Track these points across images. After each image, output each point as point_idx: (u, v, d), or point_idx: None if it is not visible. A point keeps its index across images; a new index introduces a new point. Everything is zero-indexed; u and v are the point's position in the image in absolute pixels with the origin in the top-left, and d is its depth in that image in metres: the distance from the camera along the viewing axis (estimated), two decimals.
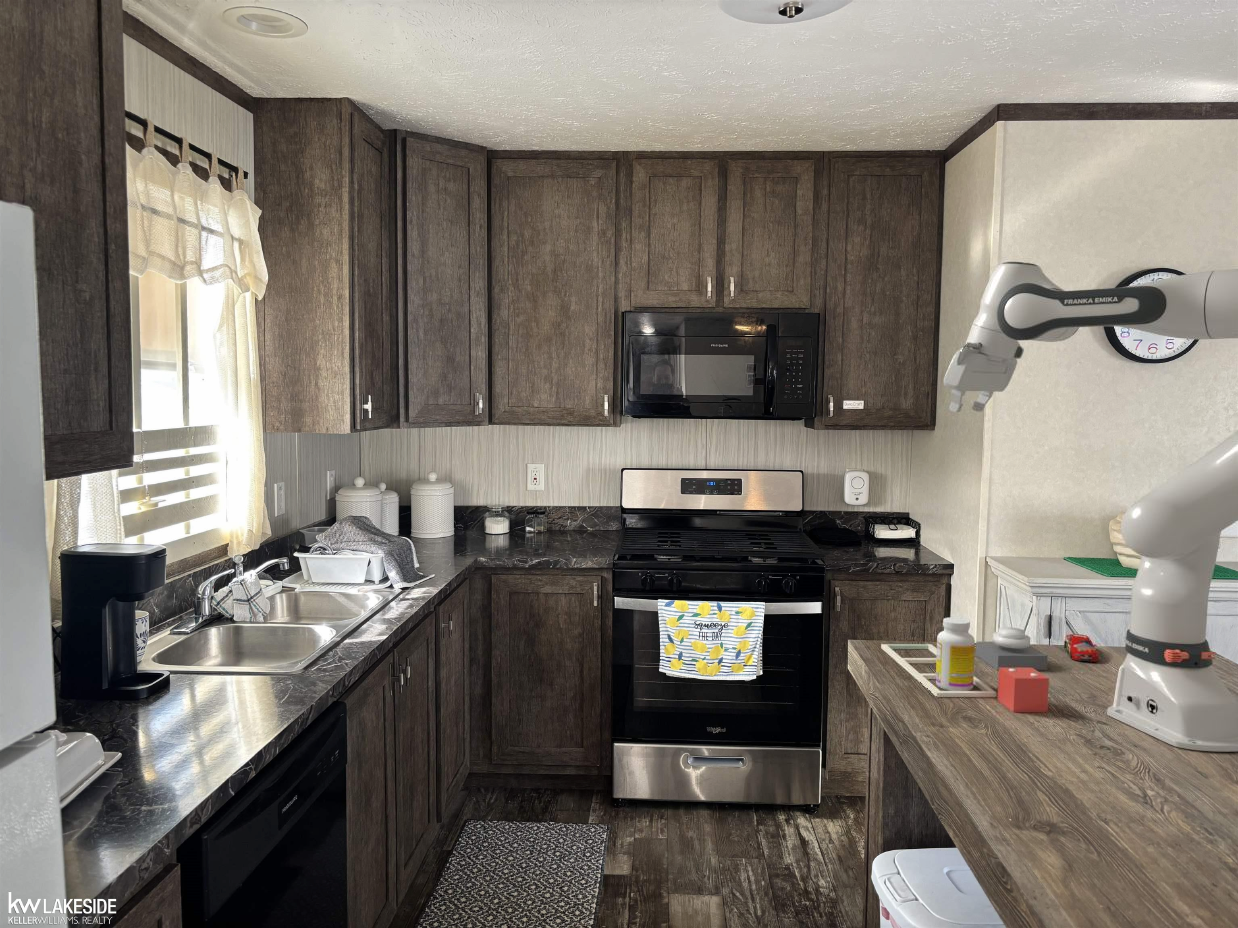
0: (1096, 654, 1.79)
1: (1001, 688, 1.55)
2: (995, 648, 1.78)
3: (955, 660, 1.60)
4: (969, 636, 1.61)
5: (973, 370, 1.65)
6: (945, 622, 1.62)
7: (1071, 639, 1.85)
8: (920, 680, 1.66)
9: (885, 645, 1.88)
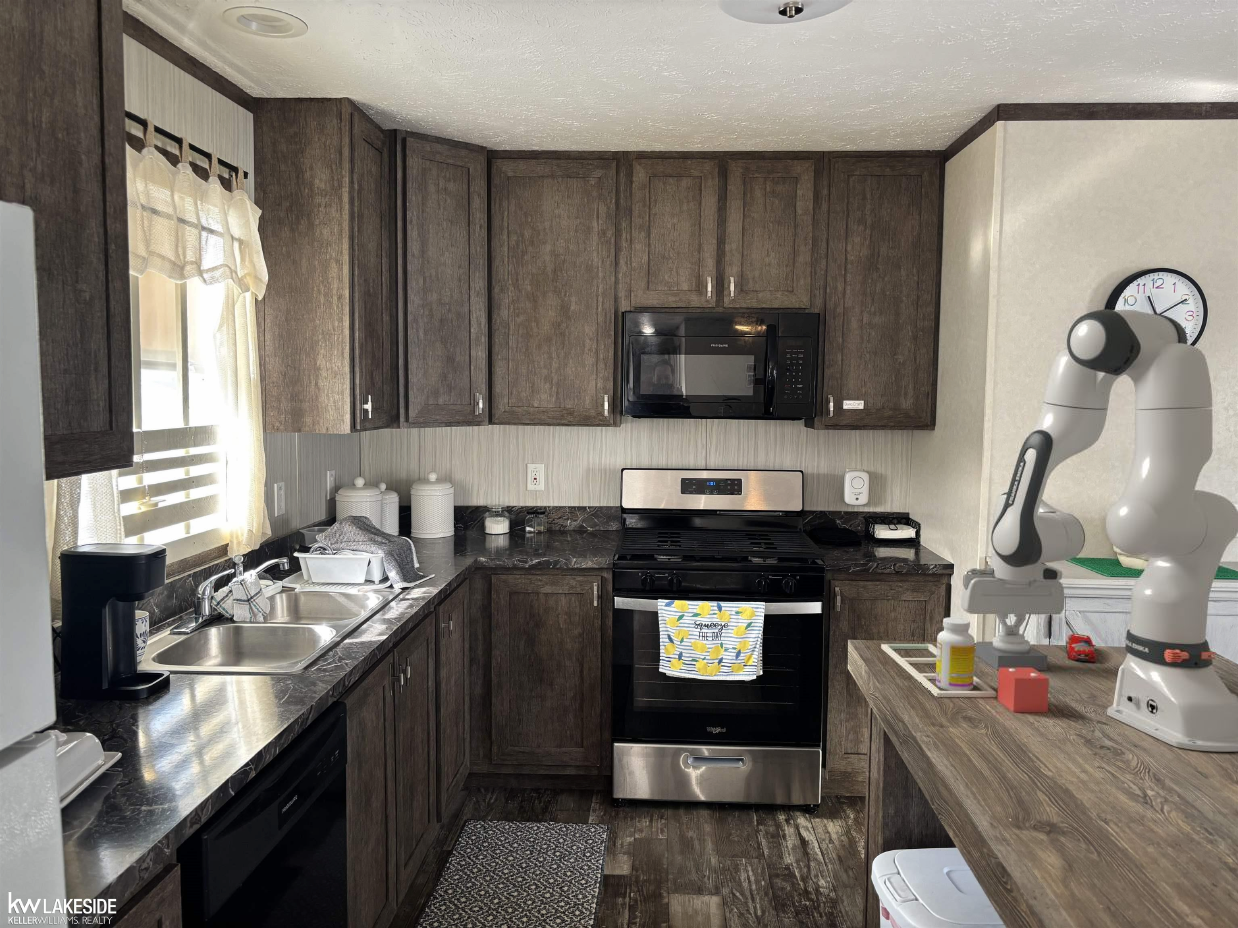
0: (1093, 654, 1.79)
1: (1001, 688, 1.55)
2: None
3: (955, 660, 1.60)
4: (969, 636, 1.61)
5: (986, 594, 1.76)
6: (945, 622, 1.62)
7: (1071, 639, 1.85)
8: (920, 680, 1.66)
9: (885, 645, 1.88)
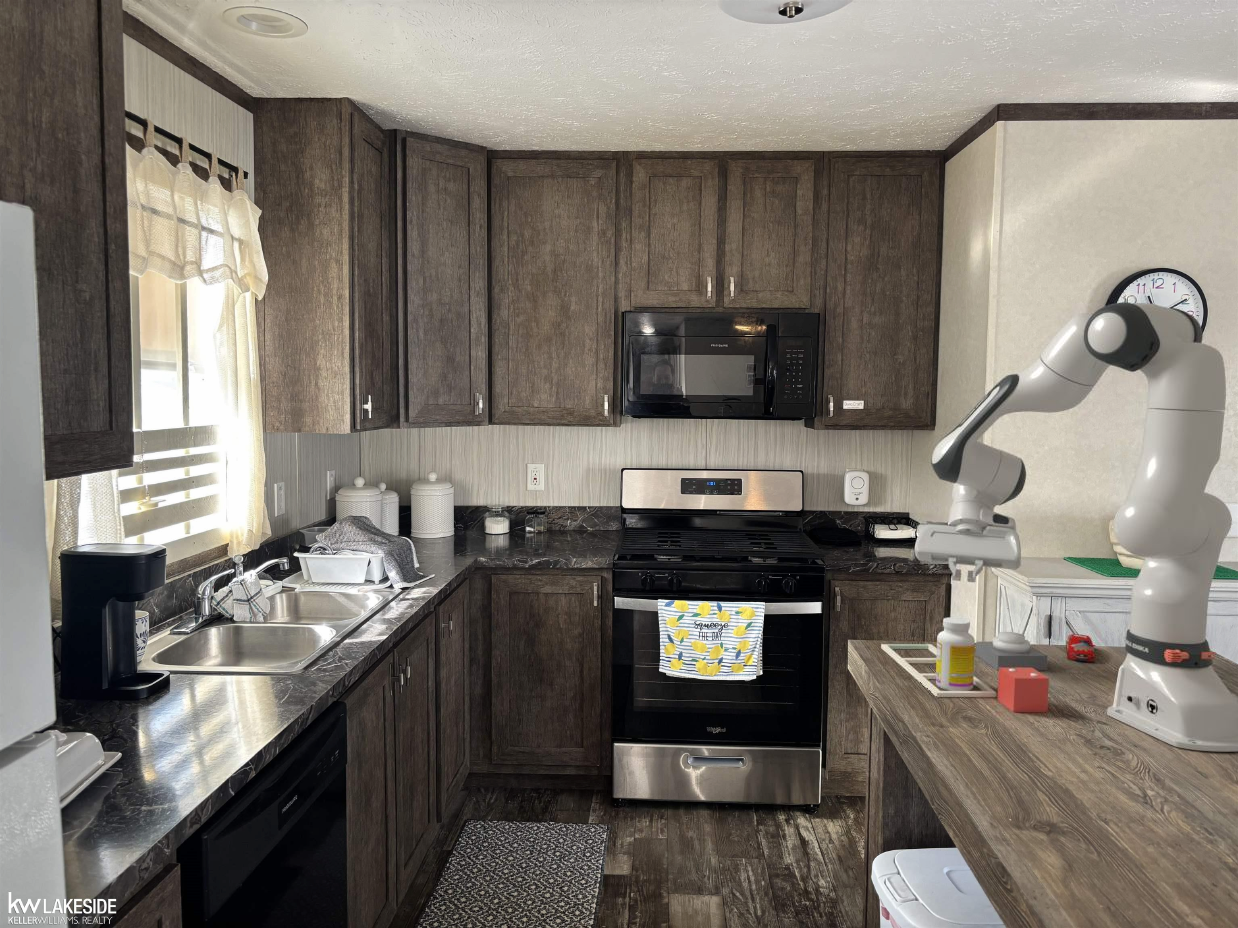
0: (1092, 654, 1.79)
1: (1001, 688, 1.55)
2: None
3: (955, 660, 1.60)
4: (969, 636, 1.61)
5: (936, 537, 1.80)
6: (945, 622, 1.62)
7: (1070, 639, 1.85)
8: (920, 680, 1.66)
9: (885, 645, 1.88)
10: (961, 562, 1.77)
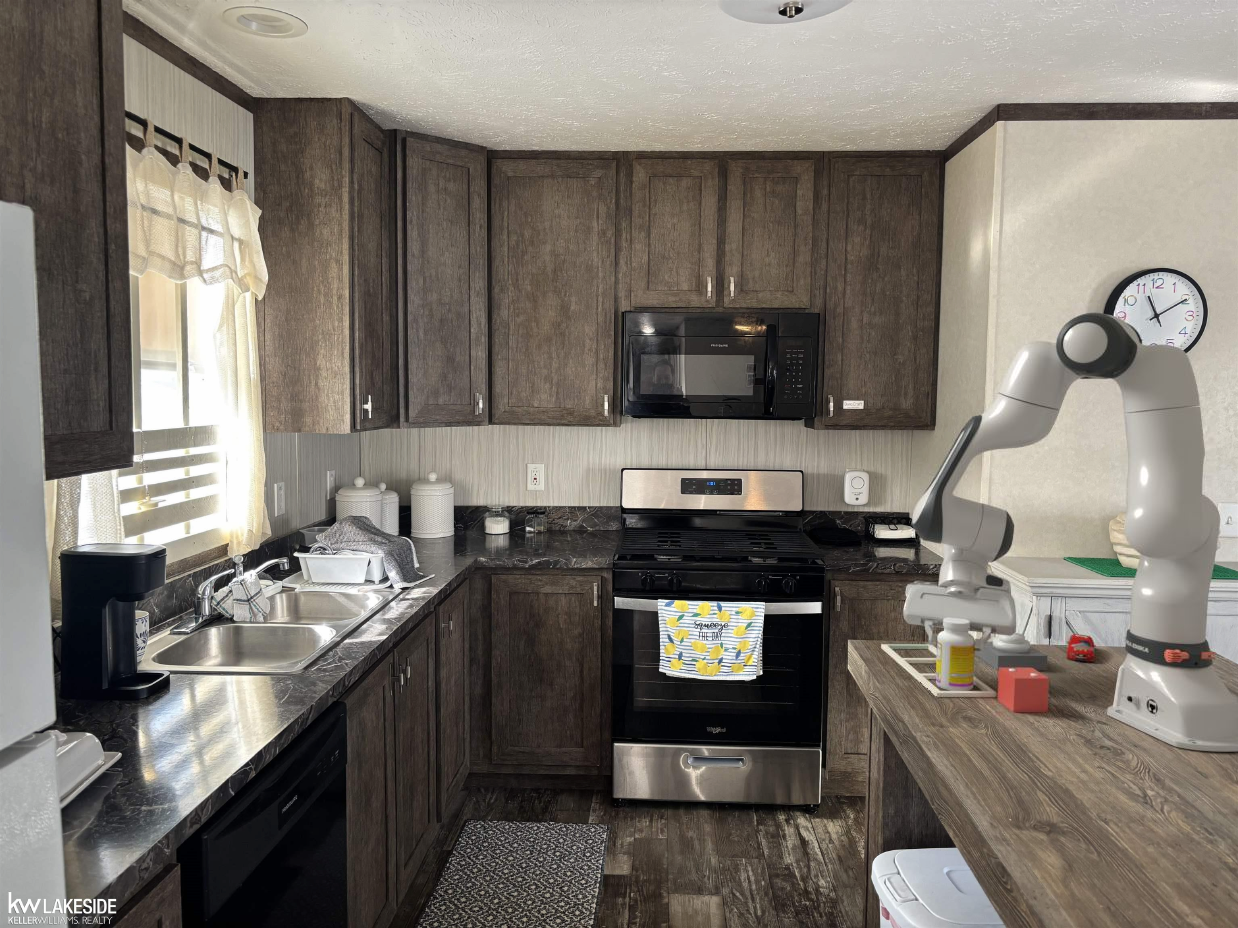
0: (1092, 654, 1.79)
1: (1001, 688, 1.55)
2: None
3: (955, 660, 1.60)
4: (969, 636, 1.61)
5: (926, 599, 1.69)
6: (945, 622, 1.62)
7: (1071, 639, 1.85)
8: (920, 680, 1.66)
9: (885, 645, 1.88)
10: None
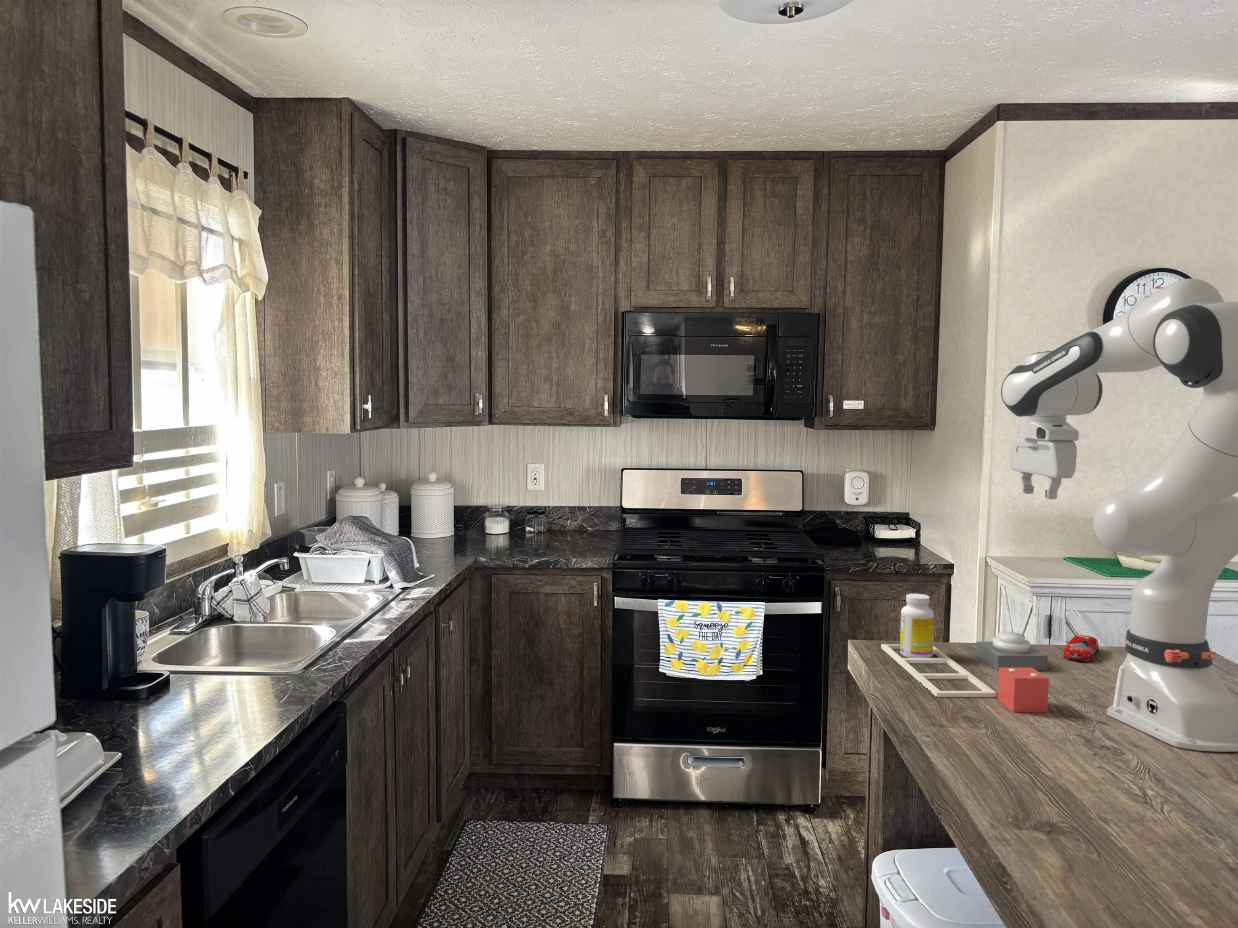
0: (1087, 654, 1.79)
1: (1001, 688, 1.55)
2: None
3: (916, 631, 1.80)
4: (929, 610, 1.81)
5: (1019, 452, 1.87)
6: (907, 597, 1.82)
7: (1071, 639, 1.86)
8: (920, 680, 1.66)
9: (885, 645, 1.88)
10: None
